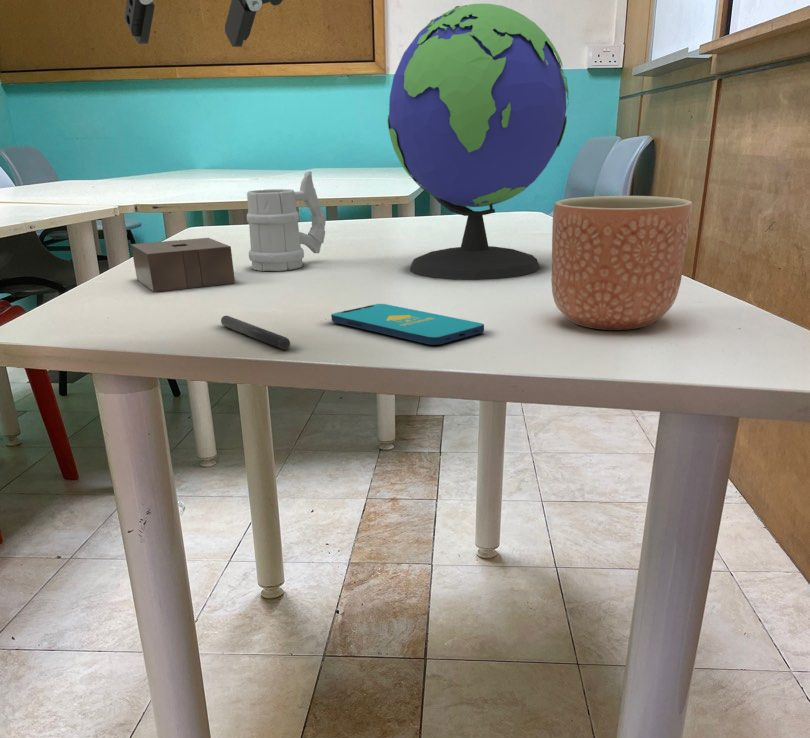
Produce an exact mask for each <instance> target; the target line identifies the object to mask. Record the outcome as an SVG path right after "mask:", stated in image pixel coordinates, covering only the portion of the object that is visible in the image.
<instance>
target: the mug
mask: <svg viewBox="0 0 810 738" xmlns="http://www.w3.org/2000/svg"><path fill="white" fill-rule="evenodd" d="M303 175H304V176H303V178H302V180H301V182H300V187H299V191H295V190H294V189H291V188H290V189H289V188H288V189H286V188H285V189H284V188H281V189H280V188H271V189H270V188H268V189H255V190H248V191H247V192H246V201H247V213H246V221H247V223H248V226H249V242H250V243H249V244H250V249H249V250H248V260H249V261H250V262H251V267H252V269H253V270H254V271H259V272H283V271H292V270H297V269H300V268H302V267H303V265H304V263H303V259H304V258H305V252H304V248H302V246H301V245H303V246H305V247H307V248H309V250H310V251H311V252H312V253H313V254H320V252H321V247H322V245H323V244H324V241H325V236H326V230H325V228H326V227H325V226H326V222H327V221H326V215H325V214H324V210H323V208H322V205H321V203H320V200H319V198H318V195H317V191H316V188H315V185H314V182H313V171H311V170H308V171H305V172H304V174H303ZM299 201H300V202H301V201H303V203H304V204H305V206H306V208H307V209H309V212H310V215H311V216H310V218H311V227H310V228H309V231H308V232H307V233H305V232H301V231H300V230H299V220H300V213H299V211H298V210H297V202H299Z"/></svg>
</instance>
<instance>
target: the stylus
mask: <svg viewBox="0 0 810 738" xmlns="http://www.w3.org/2000/svg"><path fill="white" fill-rule="evenodd" d="M220 324H221V325H222V326H223V327H225V328H228V329H230V330H232V331H235V332H237V333H240V334H242V335H245V336H248V337H251V338H253V339H255V340H258V341H259V342H262V343H265V344H268V345H270V346H273V347H275V348H278V349H280V350H285V351H286V350H288V349H290V346H291V341H290V339H289V338H288V337H287V336H283V335H281V334H278V333H276V332H274V331H273V332H272V331H270V330H267V329H265V328H262V327H259V326H257V325H254V324H251V323H248V322H246V321H243V320H241V319H239V318H235V317H232V316H230V315H223V316H222V317H221V318H220Z"/></svg>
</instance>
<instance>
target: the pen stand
mask: <svg viewBox="0 0 810 738" xmlns="http://www.w3.org/2000/svg"><path fill="white" fill-rule="evenodd" d="M130 248H131V254H132V258H133V265H134V269H135V276H136V277H135V278H136V280H137V281H138V282H139V283H141V284H142V285H143V286H145V288H147V289H148V290H150V291H152V292H153V293H158V292H159V293H160V292H168V291H177V290H185V289H186V290H187V289H196V288H205V287H216V286H223V285H231V284H232V285H234V284H236V279H235V272H234V271H235V270H234V263H233V261H234V260H233V254H232V247H231V245H228V244H225V243H224V242H220V241H218V240H215V239H213V238H211V237H200V238H187V239H177V240H176V239H175V240H165V241H153V242H143V243H142V242H140V243H131V244H130Z"/></svg>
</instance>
